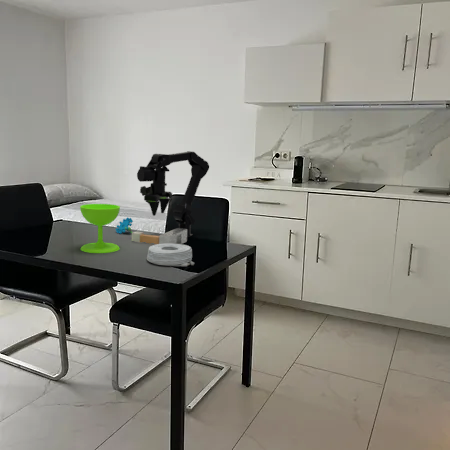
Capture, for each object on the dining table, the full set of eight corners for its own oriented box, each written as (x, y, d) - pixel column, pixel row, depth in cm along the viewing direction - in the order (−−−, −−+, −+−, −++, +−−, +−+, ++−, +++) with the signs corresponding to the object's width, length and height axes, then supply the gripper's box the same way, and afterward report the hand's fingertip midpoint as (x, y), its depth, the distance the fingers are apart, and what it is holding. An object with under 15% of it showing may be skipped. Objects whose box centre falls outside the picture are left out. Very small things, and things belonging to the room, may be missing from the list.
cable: (196, 267, 170) (196, 251, 169) (149, 268, 165) (149, 252, 164) (187, 255, 187) (187, 241, 186) (144, 256, 182) (144, 242, 181)
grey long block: (177, 240, 214) (177, 228, 213) (186, 241, 213) (187, 229, 212) (159, 248, 195) (159, 235, 194) (169, 250, 194) (170, 236, 193)
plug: (135, 239, 211) (135, 231, 211) (161, 242, 208) (161, 234, 207) (131, 241, 208) (131, 232, 207) (157, 244, 204) (157, 235, 203)
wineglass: (93, 255, 180) (93, 210, 177) (73, 247, 190) (72, 205, 187) (127, 249, 191) (127, 207, 188) (106, 243, 202) (106, 203, 199)
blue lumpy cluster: (111, 228, 228) (126, 214, 230) (119, 235, 231) (133, 221, 233) (120, 235, 219) (135, 220, 221) (127, 242, 223) (142, 228, 225)
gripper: (152, 178, 221) (151, 210, 224) (133, 181, 203) (133, 215, 206) (173, 180, 218) (172, 212, 221) (156, 182, 200) (155, 217, 203)
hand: (158, 214), depth 213 cm, fingers open, 9 cm apart
